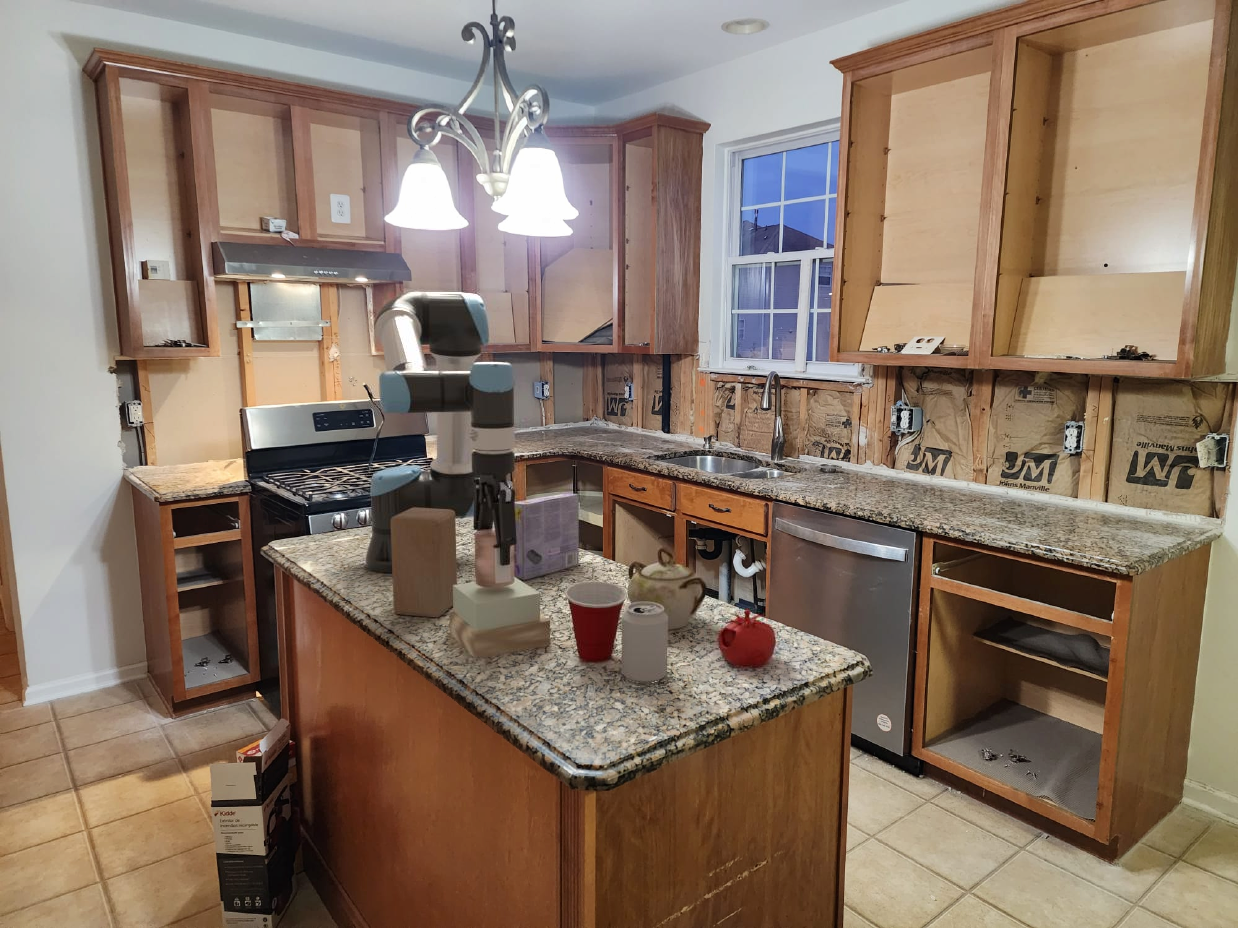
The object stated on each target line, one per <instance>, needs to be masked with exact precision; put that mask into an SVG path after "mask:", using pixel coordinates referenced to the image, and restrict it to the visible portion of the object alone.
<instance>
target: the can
mask: <svg viewBox="0 0 1238 928" xmlns="http://www.w3.org/2000/svg"><path fill="white" fill-rule="evenodd" d="M625 609H626V611H624V613H623V614H622V616H621V674H622V675H623V676H624V677H625V678H626V679H627V678H628V679H629V680H628V679H627V680H628V681H630V680H631V681H634V682H638V683H652V682H655V681H658V680H660V679H661V680H662V679H664V678H665V677H666V675H667V674H668V643H669V641H668V636H669V633H668V632H669V630H668V616H667V614H666V613H665V612H664V607H663V606H662V605H660V604H658V603H654V602H635V603H631V602H630V604H627V606H626V608H625ZM661 680H660V681H661ZM631 681H630V682H631ZM634 682H633V683H634ZM658 682H659V681H658ZM638 683H637V684H638ZM652 684H653V683H652Z"/></svg>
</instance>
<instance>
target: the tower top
mask: <svg viewBox="0 0 1238 928" xmlns="http://www.w3.org/2000/svg"><path fill="white" fill-rule="evenodd" d="M452 607H453V608H452V610H453V611H454V612H455V613H456V614H457V615H458V616H460V617H461V618H462V619H463V620H464V621H465V622H466V623H468V624H469V625H470V626H471V627H472V628H473V629H475V630H476V631H477V632H479V631H484V630H489V629H495V628H500V627H505V626H511V625H516V624H521V623H527V622H532V621H537V620H540V614H541V593H540V592H539V591H537V590H536V589H534V588H533V587H531V586H529V585H528V584H526V583H525V582H523V580H521V579H519V578H516V577H515V581H514V583H513V584H511V585H508V586H505V587H497V588H488V587H482V586H479V585H477V584H476V583H475V581H471V582H465V583H457V585H453V606H452Z"/></svg>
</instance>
